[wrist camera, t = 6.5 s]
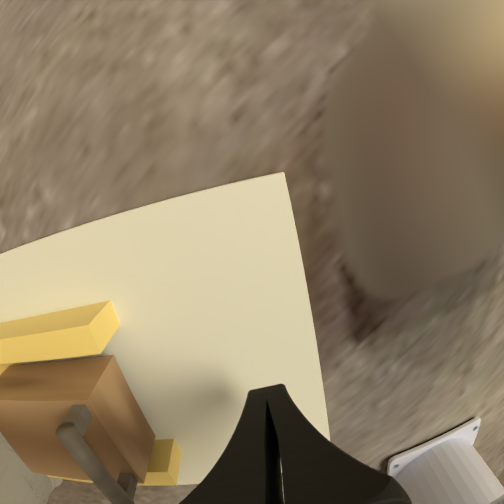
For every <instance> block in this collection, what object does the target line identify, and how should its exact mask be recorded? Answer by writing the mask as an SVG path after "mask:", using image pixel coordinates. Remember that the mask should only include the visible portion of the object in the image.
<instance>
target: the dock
mask: <svg viewBox="0 0 504 504" xmlns="http://www.w3.org/2000/svg"><path fill="white" fill-rule="evenodd" d="M109 355H114V356H115V358H116V361H117V363H118V365H119V367H120V369H121V371H122V373H123V376H124V378H125V380H126V382H127V384H128V386H129V388H130V390H131V392H132V394H133V396H134V397H135V399H136V401H137V403H138V405H139V407H140V409H141V411H142V413H143V414H144V416H145V418H146V420H147V422H148V423H149V425H150V427H151V429H152V430H153V432H154V434H155V436H156V437H155V441H154V445H153V448H152V452H151V456H150V460H149V465H148V469H147V473H146V477H145V481H144V484H142V483H137V485H187V484H200V483H201V482H202V480H203V479H204V478H205V477H206V476H207V474H208V473H209V472H210V470H211V469H212V468H213V467H214V465H215V464H216V462H217V461H218V459H219V458H220V456H221V455H222V453H223V452H224V450H225V448H226V446H227V445H228V443H229V441H230V439H231V437H232V435H233V433H234V431H235V429H236V426H237V424H238V421H239V419H240V417H241V414H242V411H243V408H244V405H245V402H246V398H247V394H248V392H249V391H250V390H253V389H258V388H263V387H267V386H272V385H277V384H281V383H282V384H284V385H285V387H286V389H287V391H288V393H289V395H290V397H291V399H292V400H293V402H294V403H295V405H296V406H297V407H298V409H299V410H300V411H301V412H302V414H303V415H304V416H305V417H306V418H307V420H308V421H309V422H310V423H311V424H312V425H313V426H314V427H315V428H316V429H317V430H318V431H319V432H320V433H321V434H322V435H323V436H324V437H325V438H327V439H328V440H329V441H330V435H329V427H328V419H327V412H326V404H325V397H324V390H323V383H322V376H321V369H320V363H319V356H318V350H317V343H316V337H315V331H314V325H313V319H312V313H311V307H310V301H309V296H308V290H307V285H306V279H305V274H304V268H303V263H302V258H301V252H300V247H299V242H298V237H297V232H296V227H295V222H294V217H293V212H292V207H291V203H290V198H289V193H288V188H287V184H286V179H285V175H284V172H279V173H274V174H270V175H265V176H260V177H256V178H251V179H247V180H243V181H238V182H234V183H230V184H226V185H221V186H217V187H213V188H209V189H205V190H201V191H197V192H193V193H189V194H186V195H182V196H178V197H174V198H171V199H167V200H163V201H160V202H156V203H152V204H149V205H145V206H142V207H138V208H135V209H131V210H128V211H125V212H121V213H118V214H115V215H111V216H108V217H105V218H102V219H98V220H95V221H92V222H89V223H86V224H83V225H80V226H77V227H74V228H71V229H68V230H65V231H62V232H59V233H56V234H53V235H50V236H47V237H44V238H41V239H39V240H36V241H33V242H30V243H28V244H25V245H22V246H19V247H17V248H14V249H11V250H9V251H6V252H4V253H1V254H0V375H1V374H2V373H3V372H4V371H5V370H6V369H7V368H8V367H9V366H11V365H22V364H37V363H48V362H59V361H68V360H77V359H86V358H94V357H99V356H109ZM281 473H282V467H281ZM47 476H48V477H53V478H59V479H66V480H74V481H82V482H90V483H94V482H93V481H88V480H79V479H71V478H64V477H57V476H51V475H47Z"/></svg>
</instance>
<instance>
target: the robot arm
mask: <svg viewBox="0 0 504 504" xmlns="http://www.w3.org/2000/svg"><path fill="white" fill-rule="evenodd" d="M480 423H481V419H480V418H479V417H476V418H474V419H472V420H470V421H468V422H466V423H465V424H463V425H461V426H459V427H457V428H455V429H453V430H451V431H449V432H447V433H445V434H443V435H441V436H439V437H437V438H435V439H433V440H430V441H428V442H426V443H424V444H422V445H419V446H417V447H415V448H412V449H410V450H408V451H405V452H403V453H400V454H398V455H395V456H393V457H391V458H390V459H389V461H388V467H387V474H384V473H382V472H380V471H377V470H375V469H373V468H371V467H369V466H367V465H365V464H363V463H361V462H359V461H358V460H356V459H355V458H353V457H351V456H350V455H348V454H347V453H345V452H344V451H342V450H341V449H339V448H338V447H337V446H335V445H334V444H333V443H331V442H330V441H329V440H328V439H327V438H325V437H324V436H323V435H322V434H321V433H320V432H319V431H318V430H317V429H316V428H315V427H314V426H313V425H312V424H311V423H310V422H309V421H308V420H307V418H306V417H305V416H304V415H303V414H302V412H301V411H300V410H299V409H298V407H297V406H296V405H295V403H294V402H293V400H292V399H291V397H290V395H289V393H288V391H287V389H286V387H285V385H284V384H282V383H281V384H277V385H272V386H267V387H263V388H258V389H253V390H250V391H249V392H248V394H247V398H246V402H245V405H244V408H243V411H242V414H241V417H240V419H239V421H238V424H237V426H236V429H235V431H234V433H233V435H232V437H231V439H230V441H229V443H228V445H227V446H226V448H225V450H224V452H223V453H222V455H221V456H220V458H219V459H218V461H217V462H216V464H215V465H214V467H213V468H212V469H211V470H210V472H209V473H208V474H207V476H206V477H205V478H204V479H203V480H202V482H201V483H200V484H199V485H198V486H197V487H196V488H195V489H194V490H193V491H192V492H191V493H190V494H189V495H188V496H187V497H186V498H185V499H184V500H183V501H181V502H180V503H179V504H284V501H283V492H282V476H283V487H284V499H285V504H504V488H503V487H502V485H501V484H500V482H499V481H498V479H497V478H496V477H495V475H494V474H493V473H492V471H491V470H490V468H489V467H488V466H487V464H486V463H485V462H484V460H483V459H482V458H481V456H480V455H479V454H478V452H477V451H476V450H475V448H474V447H473V443H474V441H475V438H476V435H477V432H478V429H479V426H480ZM281 467H282V476H281Z"/></svg>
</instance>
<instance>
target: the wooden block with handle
mask: <svg viewBox="0 0 504 504" xmlns="http://www.w3.org/2000/svg"><path fill="white" fill-rule="evenodd" d="M0 432H1V433H2V435H3V436H4V438H5V439H6V440H7V442H8V443H9V444H10V446H11V447H12V448H13V450H14V451H15V452H16V453H17V455H18V456H19V457H20V458H21V460H22V461H23V462H24V463H25V464H26V466H27V467H28V468H29V469H30V470H31V471H32V472H34V473H39V474H45V475H51V476H57V477H64V478H71V479H79V480H88V481H93V482H94V484H95V485H96V486H97V487H98V488H99V489H100V490H101V491H102V493H103V494H104V495H105V496H106V497H107V498H108V499H109V500H110V501H111V502H112V503H113V504H134V501H133V498H134V494H135V490H136V486H137V483H142V484H144V481H145V477H146V473H147V469H148V465H149V460H150V456H151V452H152V448H153V445H154V441H155V437H156V436H155V434H154V432H153V430H152V429H151V427H150V425H149V423H148V422H147V420H146V418H145V416H144V414H143V413H142V411H141V409H140V407H139V405H138V403H137V401H136V399H135V397H134V396H133V394H132V392H131V390H130V388H129V386H128V384H127V382H126V380H125V378H124V376H123V373H122V371H121V369H120V367H119V365H118V363H117V361H116V358H115V356H114V355H109V356H99V357H94V358H86V359H77V360H68V361H59V362H48V363H37V364H22V365H11V366H9V367H8V368H7V369H6V370H5V371H4V372H3V373H2V374H1V375H0Z"/></svg>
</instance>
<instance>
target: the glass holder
mask: <svg viewBox="0 0 504 504" xmlns="http://www.w3.org/2000/svg"><path fill="white" fill-rule="evenodd" d="M62 482H63V479H59V478H53V477H48V476H47V475H45V474H39V473H34V472H32V471H31V470H30V469H29V468H28V467H27V466H26V464H25V463H24V462H23V461H22V460H21V458H20V457H19V456H18V455H17V453H16V452H15V451H14V450H13V448H12V447H11V446H10V444H9V443H8V442H7V440H6V439H5V438H4V436H3V435H2V433H1V432H0V504H46V503H47V501H48V499H49V497H50V494H51V492H52V491H53V489H54V488H55V487H57V486H59V485H60V484H61V483H62Z"/></svg>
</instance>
